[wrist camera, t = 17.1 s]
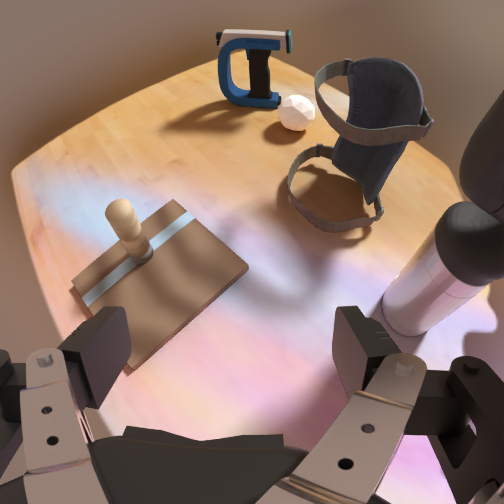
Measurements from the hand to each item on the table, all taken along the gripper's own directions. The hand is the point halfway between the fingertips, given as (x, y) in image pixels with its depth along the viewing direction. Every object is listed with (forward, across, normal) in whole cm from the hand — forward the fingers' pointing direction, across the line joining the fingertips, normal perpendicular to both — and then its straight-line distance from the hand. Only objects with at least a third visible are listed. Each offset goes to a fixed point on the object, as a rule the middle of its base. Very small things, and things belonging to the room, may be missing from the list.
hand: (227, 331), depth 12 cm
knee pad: (+45, -16, -2) cm, 48 cm away
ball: (+59, -10, -15) cm, 62 cm away
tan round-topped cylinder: (+35, +16, +6) cm, 39 cm away
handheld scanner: (+66, -1, -22) cm, 70 cm away
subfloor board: (+34, +14, +10) cm, 38 cm away
